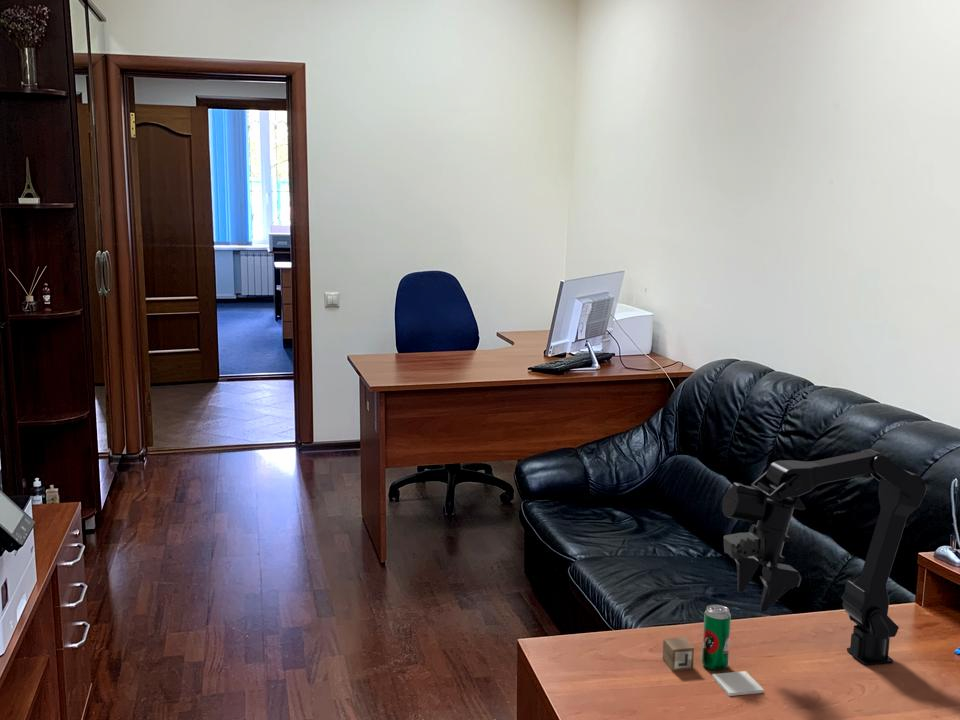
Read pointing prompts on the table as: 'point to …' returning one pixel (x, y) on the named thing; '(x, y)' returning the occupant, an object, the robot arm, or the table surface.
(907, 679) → the table surface
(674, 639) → the letter cube
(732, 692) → the coaster
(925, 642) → the table surface
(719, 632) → the soda can
